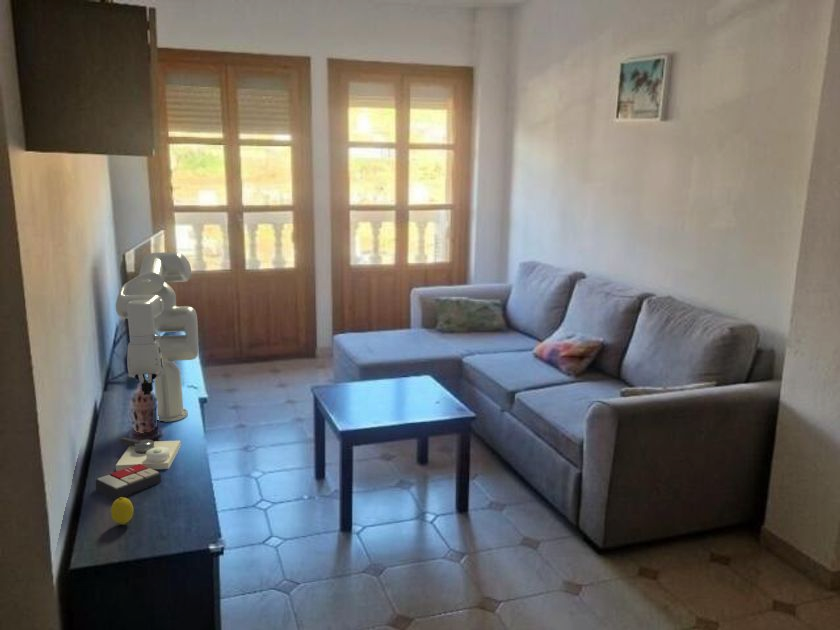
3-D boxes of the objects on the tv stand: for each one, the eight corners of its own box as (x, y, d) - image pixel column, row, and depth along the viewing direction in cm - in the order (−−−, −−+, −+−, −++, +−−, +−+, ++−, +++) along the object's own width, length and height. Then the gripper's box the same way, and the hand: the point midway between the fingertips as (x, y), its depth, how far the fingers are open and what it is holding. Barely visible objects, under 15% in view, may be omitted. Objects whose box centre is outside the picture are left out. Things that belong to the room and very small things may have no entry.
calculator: (161, 471, 211) (115, 487, 199) (161, 484, 212) (116, 501, 200) (140, 462, 218) (94, 477, 205) (140, 474, 218) (95, 490, 206)
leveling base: (132, 447, 236) (131, 435, 235) (180, 445, 238) (180, 433, 237) (116, 471, 219) (114, 457, 218) (168, 468, 220) (167, 455, 219)
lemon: (108, 529, 185) (105, 502, 183) (118, 518, 190) (115, 492, 188) (128, 530, 184) (126, 502, 183) (138, 519, 190) (135, 492, 188)
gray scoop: (115, 448, 231) (114, 441, 230) (129, 441, 236) (128, 434, 236) (144, 454, 226) (144, 447, 225) (158, 448, 231) (157, 441, 230)
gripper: (169, 335, 224) (174, 388, 228) (121, 336, 222) (126, 390, 226) (164, 341, 216) (169, 396, 221) (114, 343, 214) (120, 398, 219)
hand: (147, 393), depth 224 cm, fingers closed
